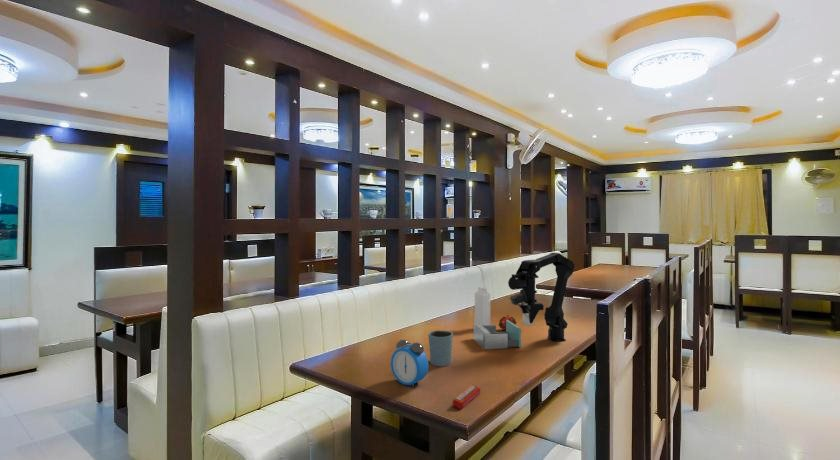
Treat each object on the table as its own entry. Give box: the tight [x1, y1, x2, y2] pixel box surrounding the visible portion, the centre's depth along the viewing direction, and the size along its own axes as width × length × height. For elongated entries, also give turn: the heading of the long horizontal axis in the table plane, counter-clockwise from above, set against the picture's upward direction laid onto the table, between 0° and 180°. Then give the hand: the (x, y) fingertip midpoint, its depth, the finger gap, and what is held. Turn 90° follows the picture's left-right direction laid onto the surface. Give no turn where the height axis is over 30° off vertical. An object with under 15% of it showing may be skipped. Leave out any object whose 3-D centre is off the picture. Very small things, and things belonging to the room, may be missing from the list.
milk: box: [474, 287, 491, 325], centre depth 218 cm, size 6×6×22 cm
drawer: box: [490, 320, 522, 348], centre depth 193 cm, size 11×17×8 cm, turn 8°
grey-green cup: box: [427, 330, 454, 367], centre depth 167 cm, size 10×10×12 cm
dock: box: [472, 323, 509, 350], centre depth 192 cm, size 11×17×7 cm, turn 8°
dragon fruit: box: [498, 314, 517, 332], centre depth 215 cm, size 8×8×12 cm
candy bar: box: [451, 384, 482, 410], centre depth 132 cm, size 16×4×3 cm, turn 147°
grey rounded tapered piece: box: [522, 313, 535, 326], centre depth 188 cm, size 5×5×4 cm
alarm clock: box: [390, 339, 429, 388], centre depth 146 cm, size 13×6×15 cm, turn 53°
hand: (528, 321), depth 188 cm, fingers closed on grey rounded tapered piece, 5 cm apart
